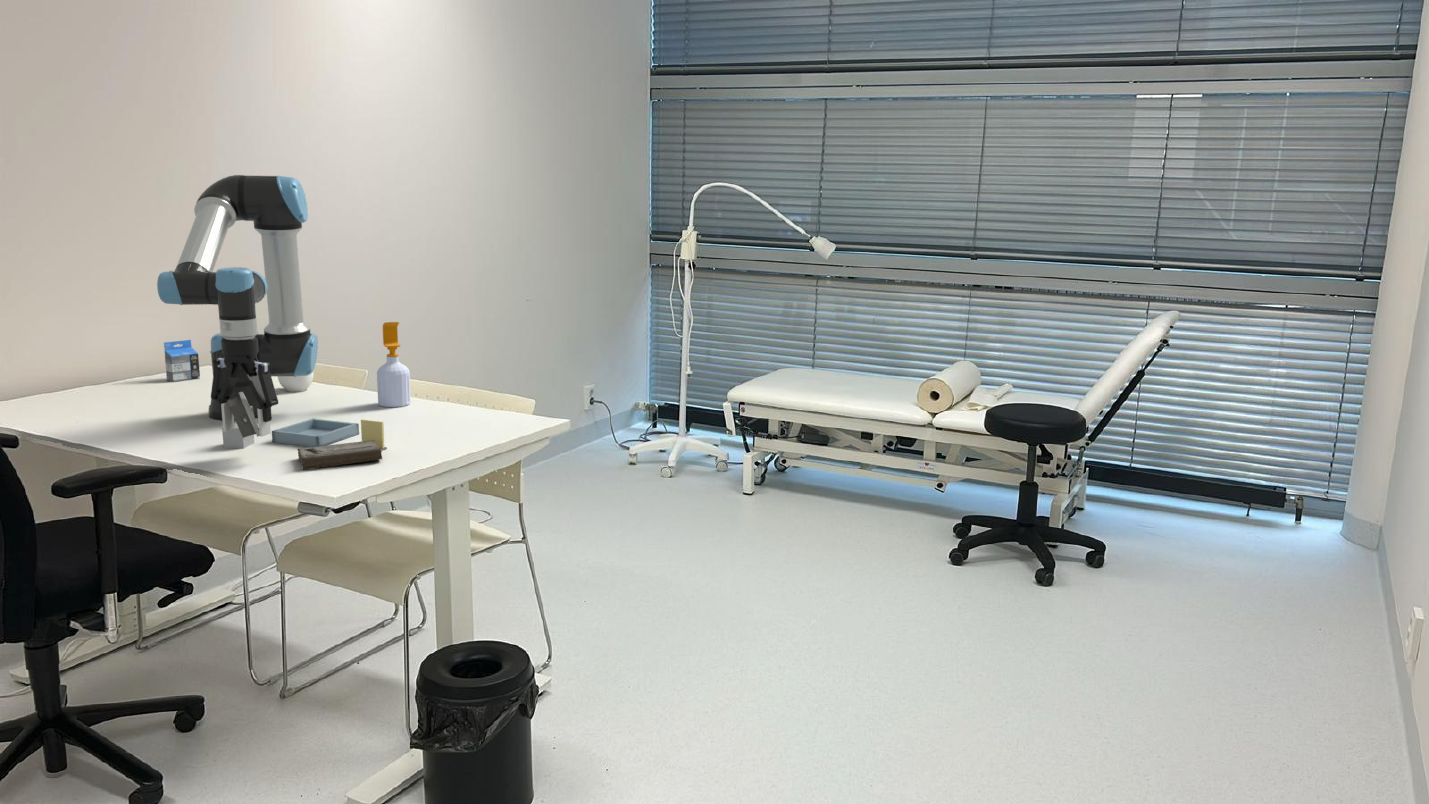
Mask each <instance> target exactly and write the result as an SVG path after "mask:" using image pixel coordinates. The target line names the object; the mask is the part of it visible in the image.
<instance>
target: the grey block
mask: <svg viewBox="0 0 1429 804" xmlns="http://www.w3.org/2000/svg"><path fill="white" fill-rule="evenodd" d="M234 424H235V429H233V430H230V431H227V432H225V431H223V427H221V429H222V431H221V432H222V442H223V445H222V446H223V448H224V449H225V448H226V449H246V448H248V447H250V446H251V445H253V444H255V434H254V435H251V436H247V437H244V438H243V437H242V434H241V432H240V430H239V428H238V425H237V423H236V422H234Z"/></svg>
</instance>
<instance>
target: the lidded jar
mask: <svg viewBox="0 0 1429 804" xmlns="http://www.w3.org/2000/svg"><path fill="white" fill-rule="evenodd" d="M314 370H315V369H314ZM314 370H313V372H312V373H311V374H310V375H307V376H296V377H294V376H276V377H277V381H278V383H279V385H280V386H281V387H282V388H283V389H285V391H286V392H295V393H296V392H304V391H307V390H308V388H309V387H311V385H312V383H313V381H314V374H315V371H314Z"/></svg>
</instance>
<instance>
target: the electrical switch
mask: <svg viewBox="0 0 1429 804" xmlns="http://www.w3.org/2000/svg"><path fill="white" fill-rule="evenodd" d="M227 401H228V404H229V407H230V409H231V411H232V414H233V416H234V418H235V420H234V422H235V423H237V425H238V428H239V430H240V432H241V434H242V437H243V438H244V437H247V436H251V435H254V436H255V435H256V437H257V438H258V437H260V436H259V424H258V422H257V420H256V417H254V412H253V407H252V406H249V404H248V402H247V399H246V397H245V395H244V393H243V392H239V396H238V397H235V398H233V399H230V400H227Z"/></svg>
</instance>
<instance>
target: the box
mask: <svg viewBox="0 0 1429 804" xmlns="http://www.w3.org/2000/svg"><path fill="white" fill-rule="evenodd" d="M382 452H383V450H382V451H381V450H380V448H379V447H378V445H377V444H376V443H375V442H374V440H370V441H362V440H361V441H355V442H354V441H353V442H344V443H337V444H335V443H334V444H329V445H327V446H318V447H309V446H308V447H303V448H297V454H298V461H299V462H300V464H301V467H302V470H303V471H306V470H307V471H308V470H314V469H316V470H317V469H320V468H327V467H334V466H342V465H349V464H355V463H356V464H357V463H364V462H370V461H379V460H383V455H382Z"/></svg>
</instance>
